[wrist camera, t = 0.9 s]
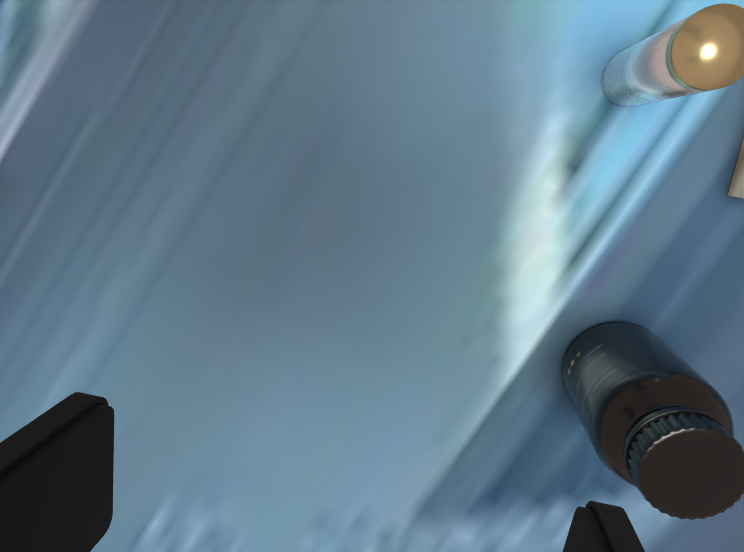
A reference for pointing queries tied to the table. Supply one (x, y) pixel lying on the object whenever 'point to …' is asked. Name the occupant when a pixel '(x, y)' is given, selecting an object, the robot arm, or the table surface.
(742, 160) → the block
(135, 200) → the table surface
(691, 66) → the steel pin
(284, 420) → the table surface
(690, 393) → the supplement bottle
